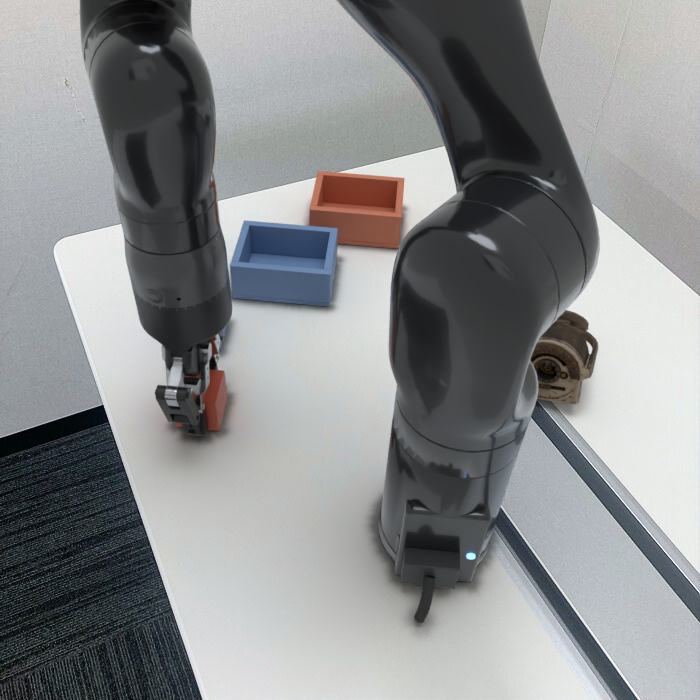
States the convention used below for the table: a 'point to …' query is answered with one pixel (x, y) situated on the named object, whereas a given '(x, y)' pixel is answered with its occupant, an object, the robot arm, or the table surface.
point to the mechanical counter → (564, 359)
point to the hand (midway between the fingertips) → (202, 409)
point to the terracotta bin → (359, 207)
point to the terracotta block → (214, 399)
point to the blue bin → (284, 263)
